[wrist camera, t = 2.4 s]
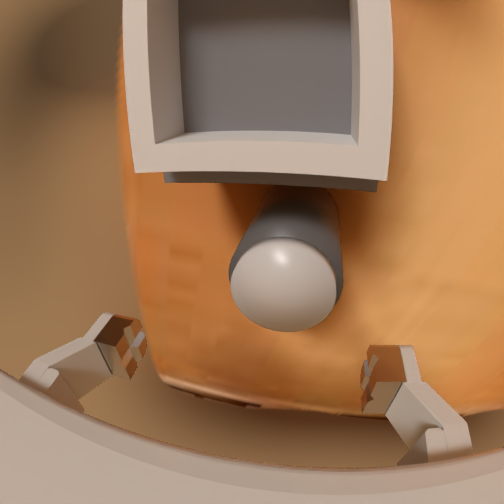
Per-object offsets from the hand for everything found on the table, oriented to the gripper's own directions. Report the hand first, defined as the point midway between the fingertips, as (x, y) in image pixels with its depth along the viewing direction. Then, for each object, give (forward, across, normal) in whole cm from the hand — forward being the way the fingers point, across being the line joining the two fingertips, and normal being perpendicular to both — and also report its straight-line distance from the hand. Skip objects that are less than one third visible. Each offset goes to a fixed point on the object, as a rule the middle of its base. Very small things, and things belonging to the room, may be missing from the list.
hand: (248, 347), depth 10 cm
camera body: (+11, 0, -10) cm, 15 cm away
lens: (+11, -1, 0) cm, 11 cm away
